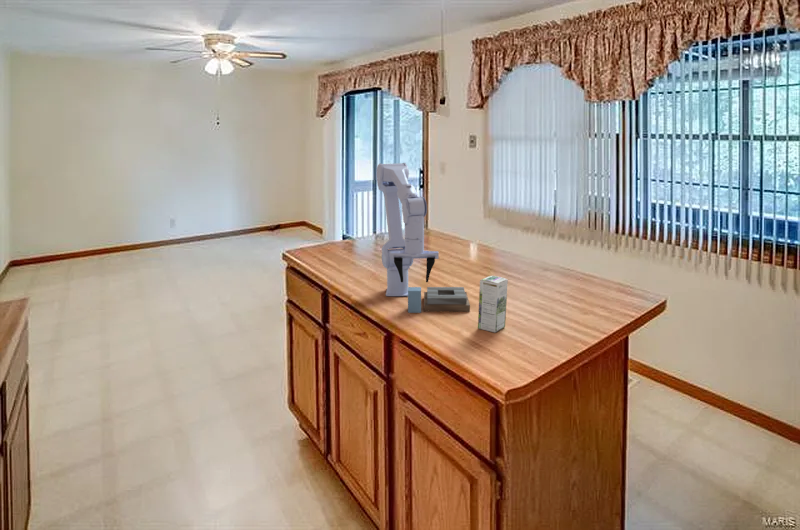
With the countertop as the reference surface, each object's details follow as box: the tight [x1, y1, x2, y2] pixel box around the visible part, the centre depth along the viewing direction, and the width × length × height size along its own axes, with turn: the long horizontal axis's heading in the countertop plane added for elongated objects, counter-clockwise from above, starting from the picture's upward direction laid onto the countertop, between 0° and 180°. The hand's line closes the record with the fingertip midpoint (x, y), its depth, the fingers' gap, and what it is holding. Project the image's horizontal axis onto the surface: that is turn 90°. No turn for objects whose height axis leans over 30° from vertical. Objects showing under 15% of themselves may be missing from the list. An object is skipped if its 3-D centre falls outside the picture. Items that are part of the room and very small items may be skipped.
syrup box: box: [477, 275, 509, 333], centre depth 150 cm, size 6×6×14 cm
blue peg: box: [407, 286, 422, 314], centre depth 166 cm, size 4×4×7 cm
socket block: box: [423, 286, 471, 313], centre depth 172 cm, size 14×14×4 cm
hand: (414, 281), depth 165 cm, fingers open, 7 cm apart
